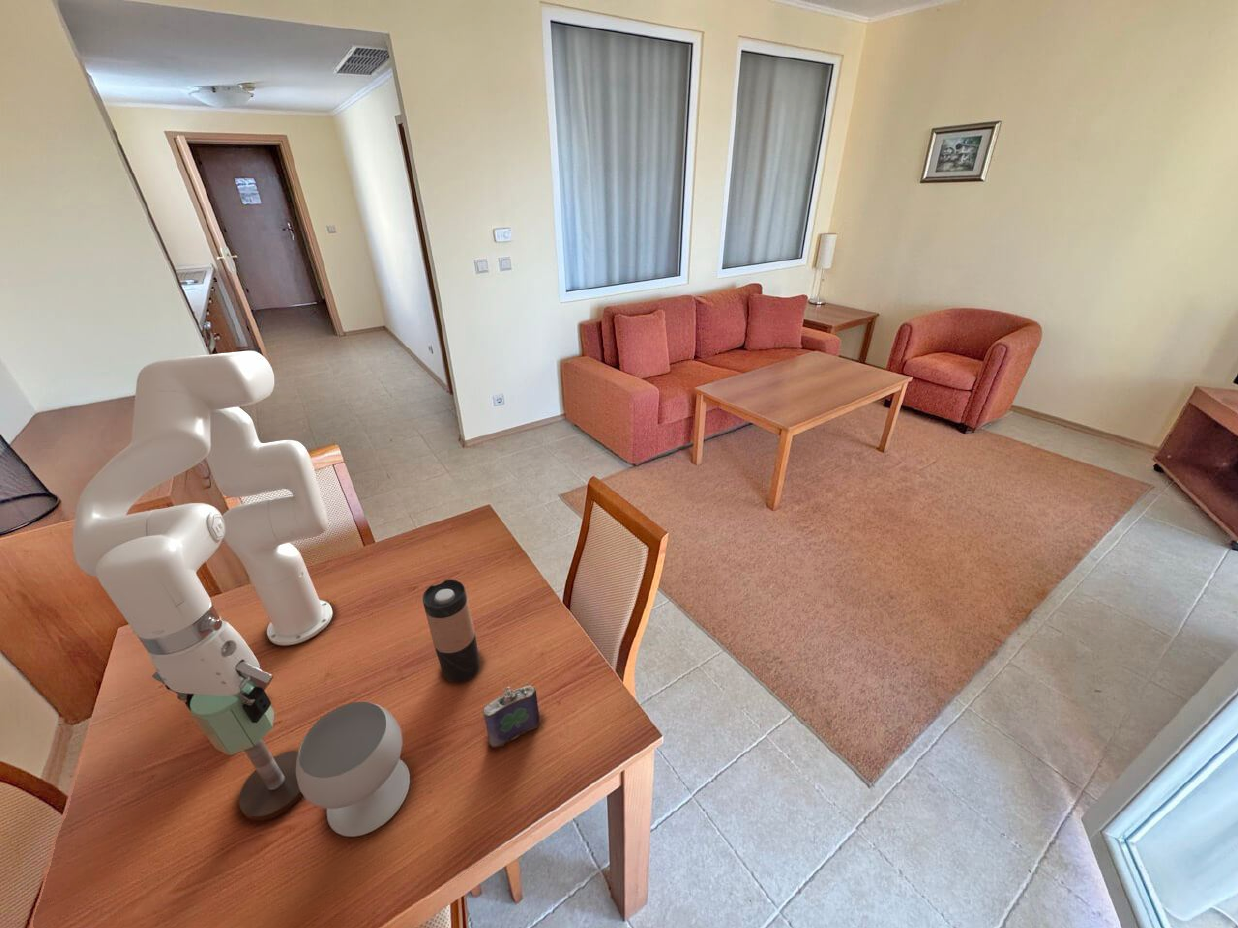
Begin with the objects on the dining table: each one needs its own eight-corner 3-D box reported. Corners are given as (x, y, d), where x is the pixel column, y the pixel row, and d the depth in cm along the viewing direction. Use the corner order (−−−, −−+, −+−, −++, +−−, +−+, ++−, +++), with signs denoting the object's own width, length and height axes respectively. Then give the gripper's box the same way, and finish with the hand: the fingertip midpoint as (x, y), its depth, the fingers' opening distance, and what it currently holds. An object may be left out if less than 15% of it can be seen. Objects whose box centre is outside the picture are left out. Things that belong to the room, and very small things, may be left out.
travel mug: (470, 686, 96) (452, 611, 86) (434, 680, 97) (413, 605, 88) (487, 655, 102) (472, 581, 93) (453, 649, 104) (435, 576, 94)
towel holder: (246, 771, 82) (212, 718, 75) (314, 745, 86) (287, 692, 79) (236, 832, 74) (196, 780, 68) (311, 801, 78) (281, 747, 71)
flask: (492, 751, 85) (483, 711, 80) (487, 736, 87) (478, 697, 82) (542, 724, 89) (537, 685, 84) (536, 712, 91) (530, 672, 86)
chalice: (413, 827, 75) (390, 769, 67) (310, 858, 71) (274, 802, 64) (418, 740, 86) (399, 684, 79) (330, 764, 83) (302, 707, 76)
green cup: (221, 719, 75) (196, 680, 71) (276, 700, 78) (254, 662, 73) (212, 762, 69) (184, 723, 65) (271, 740, 72) (247, 701, 68)
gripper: (266, 607, 65) (308, 692, 74) (143, 600, 67) (198, 685, 75) (223, 653, 59) (274, 741, 68) (87, 646, 60) (155, 733, 69)
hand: (234, 711), depth 71 cm, fingers closed on green cup, 7 cm apart
